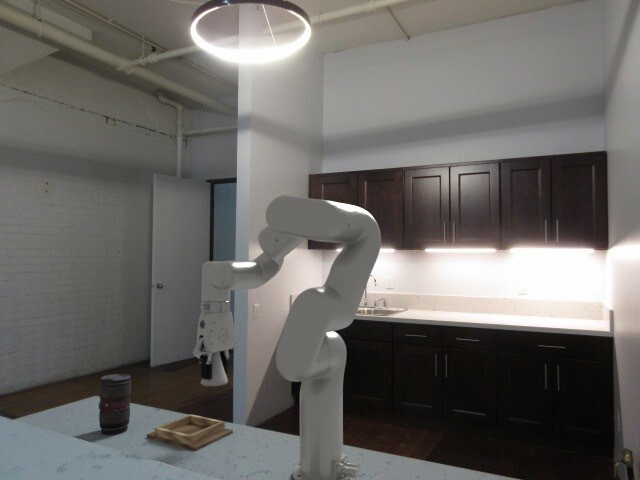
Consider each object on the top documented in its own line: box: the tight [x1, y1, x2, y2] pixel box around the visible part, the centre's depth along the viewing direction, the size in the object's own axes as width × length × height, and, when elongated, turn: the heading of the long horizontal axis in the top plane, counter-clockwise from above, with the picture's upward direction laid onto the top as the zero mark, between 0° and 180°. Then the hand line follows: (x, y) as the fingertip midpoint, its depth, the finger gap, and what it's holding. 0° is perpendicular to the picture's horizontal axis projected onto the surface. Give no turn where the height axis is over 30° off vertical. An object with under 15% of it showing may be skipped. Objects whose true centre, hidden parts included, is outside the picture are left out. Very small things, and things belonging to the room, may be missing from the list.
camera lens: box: [98, 373, 132, 436], centre depth 129 cm, size 8×8×15 cm
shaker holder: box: [146, 413, 234, 452], centre depth 125 cm, size 18×14×3 cm
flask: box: [200, 352, 229, 387], centre depth 121 cm, size 7×7×10 cm
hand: (214, 375), depth 121 cm, fingers closed on flask, 5 cm apart
